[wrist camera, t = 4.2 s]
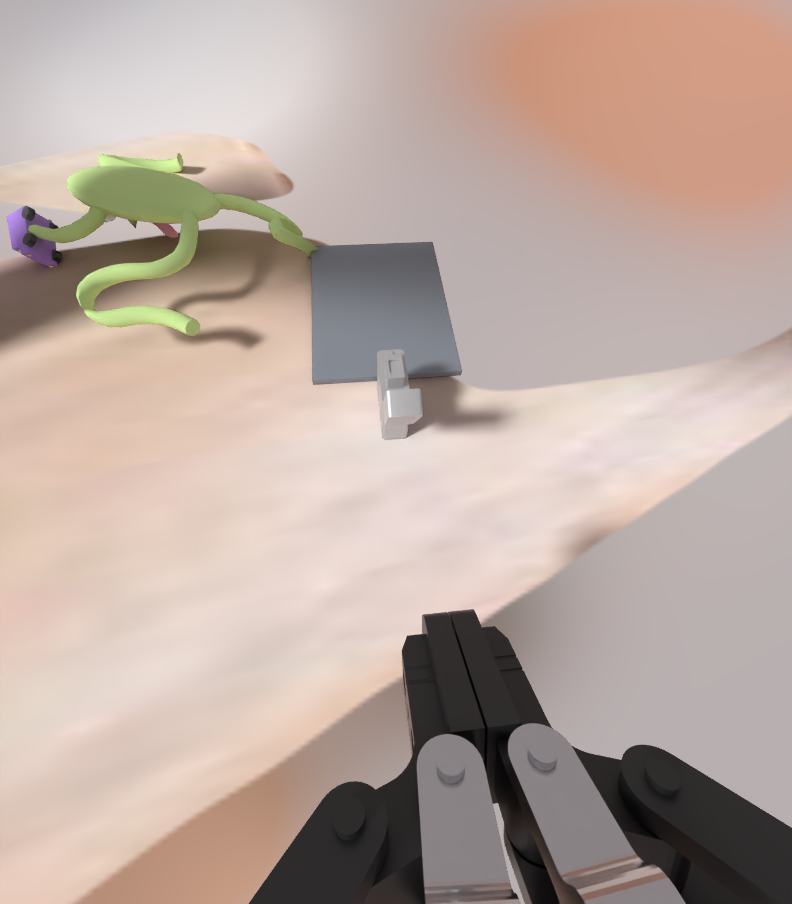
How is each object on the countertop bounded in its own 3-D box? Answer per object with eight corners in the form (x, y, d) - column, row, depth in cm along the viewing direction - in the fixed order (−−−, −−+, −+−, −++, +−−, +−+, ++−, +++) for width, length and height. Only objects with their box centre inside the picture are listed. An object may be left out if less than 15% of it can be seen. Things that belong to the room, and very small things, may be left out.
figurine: (166, 399, 29) (122, 344, 24) (-13, 238, 36) (-75, 170, 31) (345, 272, 36) (339, 210, 31) (164, 159, 43) (137, 94, 38)
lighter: (377, 391, 29) (376, 304, 22) (400, 389, 29) (406, 302, 22) (386, 479, 26) (388, 410, 19) (413, 477, 26) (424, 408, 19)
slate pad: (313, 384, 29) (312, 380, 29) (312, 251, 36) (311, 246, 36) (460, 375, 30) (461, 370, 30) (432, 246, 37) (432, 241, 37)
